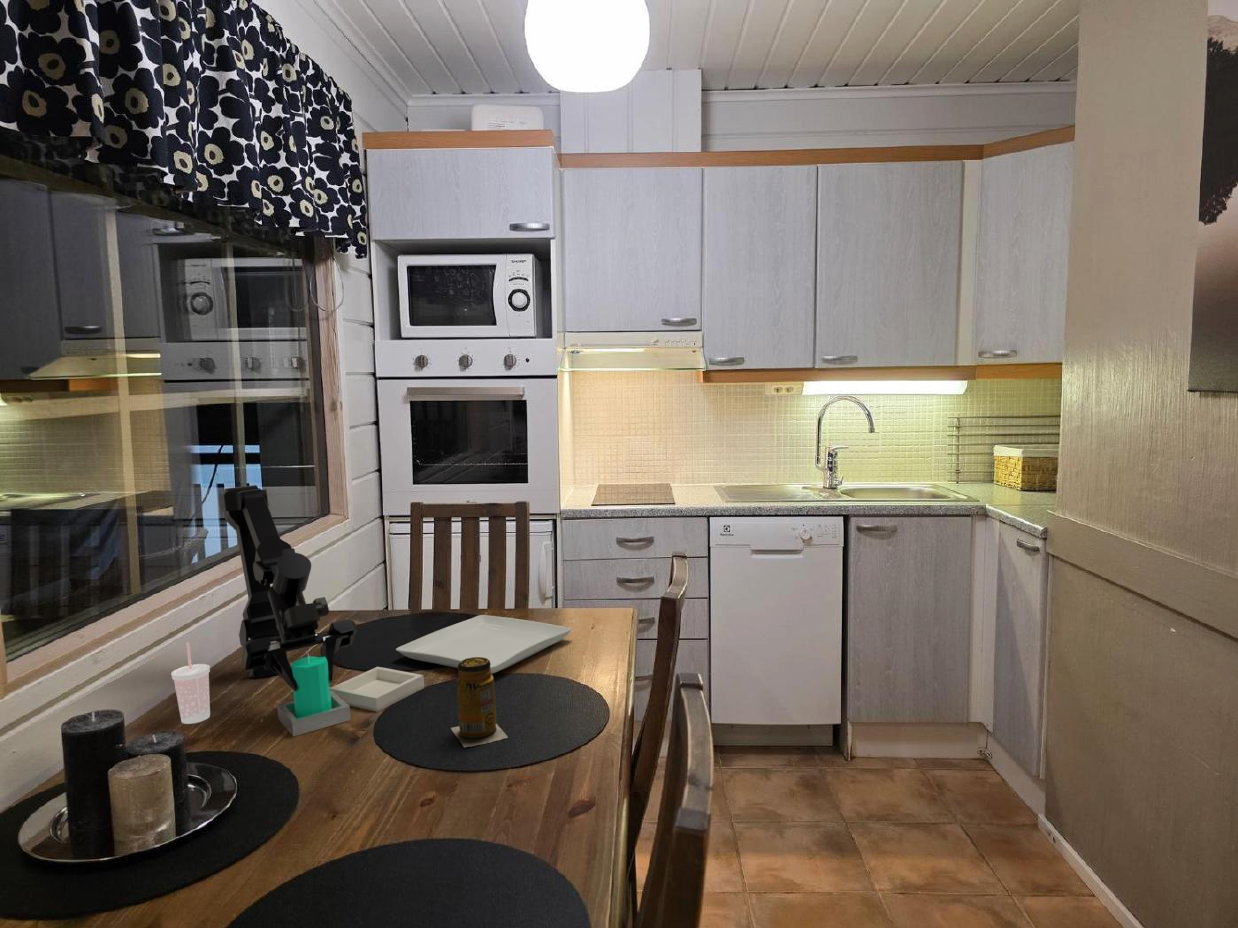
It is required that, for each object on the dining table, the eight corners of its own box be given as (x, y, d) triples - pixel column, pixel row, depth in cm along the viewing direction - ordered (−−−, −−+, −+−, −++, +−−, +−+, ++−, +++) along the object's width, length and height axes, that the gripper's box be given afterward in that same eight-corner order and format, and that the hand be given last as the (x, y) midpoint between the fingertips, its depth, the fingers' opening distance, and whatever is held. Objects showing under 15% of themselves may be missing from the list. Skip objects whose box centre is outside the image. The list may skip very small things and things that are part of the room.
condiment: (492, 719, 138) (488, 651, 137) (508, 738, 130) (503, 666, 129) (450, 729, 135) (445, 660, 133) (464, 749, 127) (459, 676, 126)
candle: (320, 727, 138) (313, 659, 136) (288, 725, 139) (282, 658, 138) (339, 712, 144) (333, 647, 142) (308, 711, 145) (302, 646, 143)
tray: (330, 701, 149) (329, 688, 149) (378, 678, 159) (377, 666, 159) (377, 711, 143) (376, 698, 143) (424, 687, 154) (423, 675, 153)
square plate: (575, 642, 177) (574, 625, 177) (492, 686, 154) (491, 666, 154) (482, 627, 192) (481, 611, 191) (394, 664, 169) (392, 646, 168)
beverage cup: (208, 708, 148) (200, 634, 147) (219, 717, 144) (212, 641, 143) (171, 719, 144) (163, 643, 143) (182, 728, 140) (174, 650, 138)
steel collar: (278, 718, 142) (277, 704, 142) (333, 703, 148) (332, 690, 148) (293, 736, 135) (292, 722, 134) (350, 719, 140) (349, 706, 140)
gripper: (239, 595, 136) (261, 676, 129) (349, 575, 147) (375, 648, 140) (233, 630, 144) (254, 708, 136) (339, 608, 155) (363, 679, 147)
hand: (313, 685), depth 139 cm, fingers closed on candle, 5 cm apart
